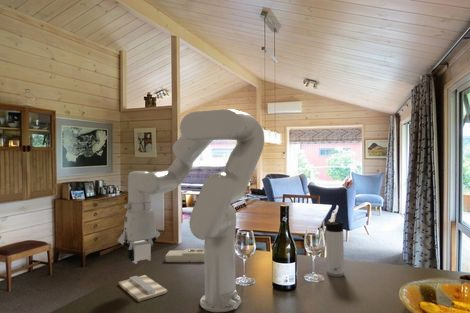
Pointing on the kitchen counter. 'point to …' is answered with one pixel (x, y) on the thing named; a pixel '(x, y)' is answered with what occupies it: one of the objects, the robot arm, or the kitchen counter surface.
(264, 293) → the kitchen counter surface
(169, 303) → the kitchen counter surface
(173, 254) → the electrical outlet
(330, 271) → the travel mug
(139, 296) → the mounting board
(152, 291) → the steel rail
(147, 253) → the white cube
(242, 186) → the robot arm
